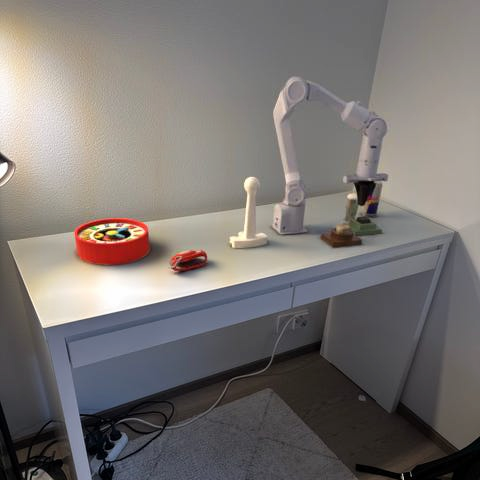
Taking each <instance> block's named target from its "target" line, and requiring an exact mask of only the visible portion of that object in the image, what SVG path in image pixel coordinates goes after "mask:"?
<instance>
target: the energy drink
mask: <svg viewBox="0 0 480 480" xmlns="http://www.w3.org/2000/svg"><path fill="white" fill-rule="evenodd" d="M374 183H376V187H375V188H374V189H373V191H372V192H371V194H370V195H369V197H368V199H367V201H366V203H365V206H361V207H362V208H361V211H360V212H361V213H360V214H361V216H362V217H364V216H366V217H368V218H375V217H376V216H377V214H378V209H379V204H380V201H381V200H380V199H381V194H382V189H383V181H374Z"/></svg>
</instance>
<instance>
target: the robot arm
mask: <svg viewBox="0 0 480 480" xmlns="http://www.w3.org/2000/svg"><path fill="white" fill-rule="evenodd" d="M305 100H306V101H307V102H319V103H320V104H323V106H326V107H327V108H329V109H331V110H333V111H335V112H337V113H339V114H340V117H341V121H342V122H343V123H345V124H347V125H348V126H350V127H352V128H354V129H355V130H357V131H358V132H363V139H362V143H361V148H360V153H359V159H358V160H359V161H358V166H357V171H356V173H352V174H348V175H347V174H346V175H343V179H342V183H344V184H346V185H347V184H351V183H352V184H353V185H354V188H355V192H356V194H357V201H358V205H359V206H360V207H363V206H365V203H366V201H367V199H368V197H369V195H370V194H371V192H372V191H373V189H374V188H375V187H376V183H374V181H381V182H388V178H389V174H387V173H382V172H381V173H379V172H378V167H379V164H380V163H379V162H380V157H381V152H382V146H383V140H384V137H385V136H386V135H387V133H388V126H387V122H386V121H385V119H383V117H380V116H379V115H378V114H377V113H376V112H375V111H374V110H372V111H371V110H369V109H368V108H366V107H364V106H363V103H362V102H360V101H359V100H357V101H355V100H353V101H350V102H346V101H344V100H342V99H341V98H340V97H337V95H335V94H334V93H332V92H330V91H329V90H327V89H325V88H324V87H323V86H321V85H320V84H318V83H316V82H313V81H310V80H307V79H304V78H302V77H301V76H298V75H295V76H291V77H289V78H288V80H287V81H285V83H284V84H283V86H282V87H281V90H280V92H279V95H278V98H277V100H276V103H275V106H274V108H273V112H272V115H273V116H272V117H273V121H274V127H275V131H276V137H277V142H278V147H279V152H280V157H281V163H282V168H283V173H284V179H285V186H284V191H285V195H284V198H283V199H282V202H281V203H276V204H275V206H274V209H273V219H272V224H271V227H272V228H273V229H274V230H275V231H276V232H277V233H278V234H279V235H281V236H285V235H294V234H306V233H308V230H307V229H306V228H305V227H304V219H305V212H306V202H307V201H306V199H307V191H306V185H305V182H304V181H303V180H302V179H301V175H300V169H299V164H298V158H297V153H296V147H295V146H296V145H295V142H294V136H293V131H292V125H291V118H290V117H291V116H292V114H293V113H294V111H295V110H296V108H297V107H298V106H300V105H301V104H302V103H303V102H304V101H305Z"/></svg>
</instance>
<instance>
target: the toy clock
mask: <svg viewBox="0 0 480 480" xmlns="http://www.w3.org/2000/svg"><path fill="white" fill-rule="evenodd" d="M73 234H74V240H75V246H76V252H77V256H78V257H79V258H80V259H81V260H82V261H85V262H86V263H90V264H94V265H104V266H105V265H106V266H113V265H123V264H127V263H132V262H135V261H138V260H141V259H142V258H144V257H145V256H147V255H148V254H149V252H150V250H151V245H150V236H149V227H148V225H147V224H145V223H144V222H141V221H139V220H135V219H130V218H120V217H118V218H117V217H116V218H115V217H113V218H102V219H96V220H92V221H89V222H86V223H83V224H81V225H79V226H78V227H77V228H75V230H74V232H73Z"/></svg>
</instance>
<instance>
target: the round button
mask: <svg viewBox="0 0 480 480" xmlns="http://www.w3.org/2000/svg"><path fill="white" fill-rule="evenodd" d="M336 227H337V228H336V232H338V233H344V234H345V233H348V232H349V226H348V225H344V224H343V223H339V224H337V225H336Z"/></svg>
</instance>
